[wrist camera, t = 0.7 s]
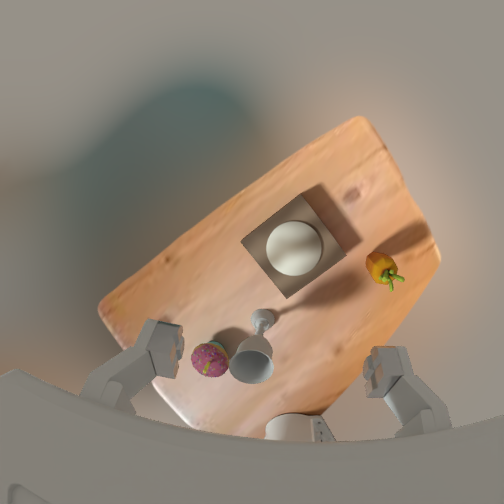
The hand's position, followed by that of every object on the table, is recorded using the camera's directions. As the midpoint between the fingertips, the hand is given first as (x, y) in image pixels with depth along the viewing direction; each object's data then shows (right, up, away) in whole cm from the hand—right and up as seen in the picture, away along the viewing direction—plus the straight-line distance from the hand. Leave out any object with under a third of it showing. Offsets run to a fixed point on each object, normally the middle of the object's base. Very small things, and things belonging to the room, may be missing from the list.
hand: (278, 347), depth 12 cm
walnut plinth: (+7, +5, +46) cm, 47 cm away
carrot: (+23, +3, +44) cm, 50 cm away
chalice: (+1, -10, +50) cm, 51 cm away
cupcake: (-10, -19, +54) cm, 58 cm away
